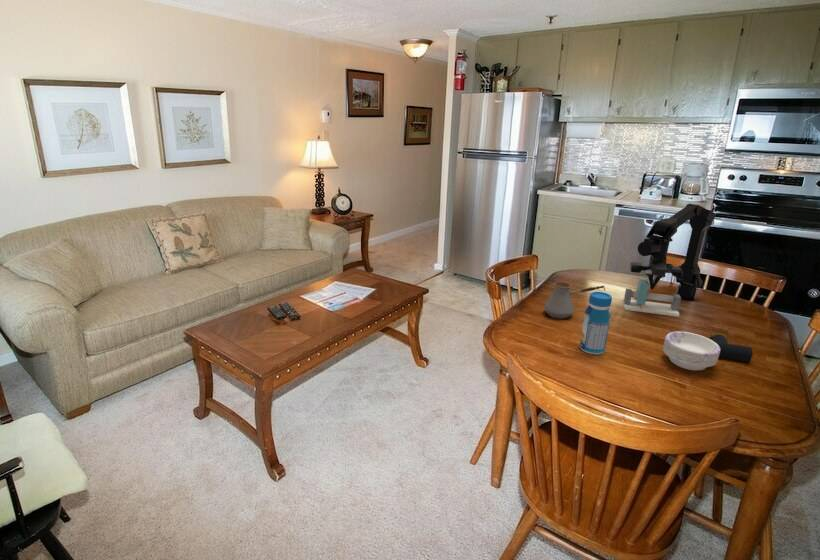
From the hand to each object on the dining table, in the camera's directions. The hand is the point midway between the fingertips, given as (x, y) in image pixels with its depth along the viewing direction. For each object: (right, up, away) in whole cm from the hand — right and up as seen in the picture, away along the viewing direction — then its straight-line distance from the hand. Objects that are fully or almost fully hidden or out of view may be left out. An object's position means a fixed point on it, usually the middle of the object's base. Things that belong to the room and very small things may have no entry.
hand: (651, 289), depth 186 cm
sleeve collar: (-3, -5, +3) cm, 7 cm away
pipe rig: (+1, -8, +3) cm, 9 cm away
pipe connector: (+6, -21, -32) cm, 39 cm away
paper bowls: (-10, -23, -40) cm, 47 cm away
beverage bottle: (-37, -20, -32) cm, 53 cm away
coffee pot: (-36, -11, -6) cm, 38 cm away
